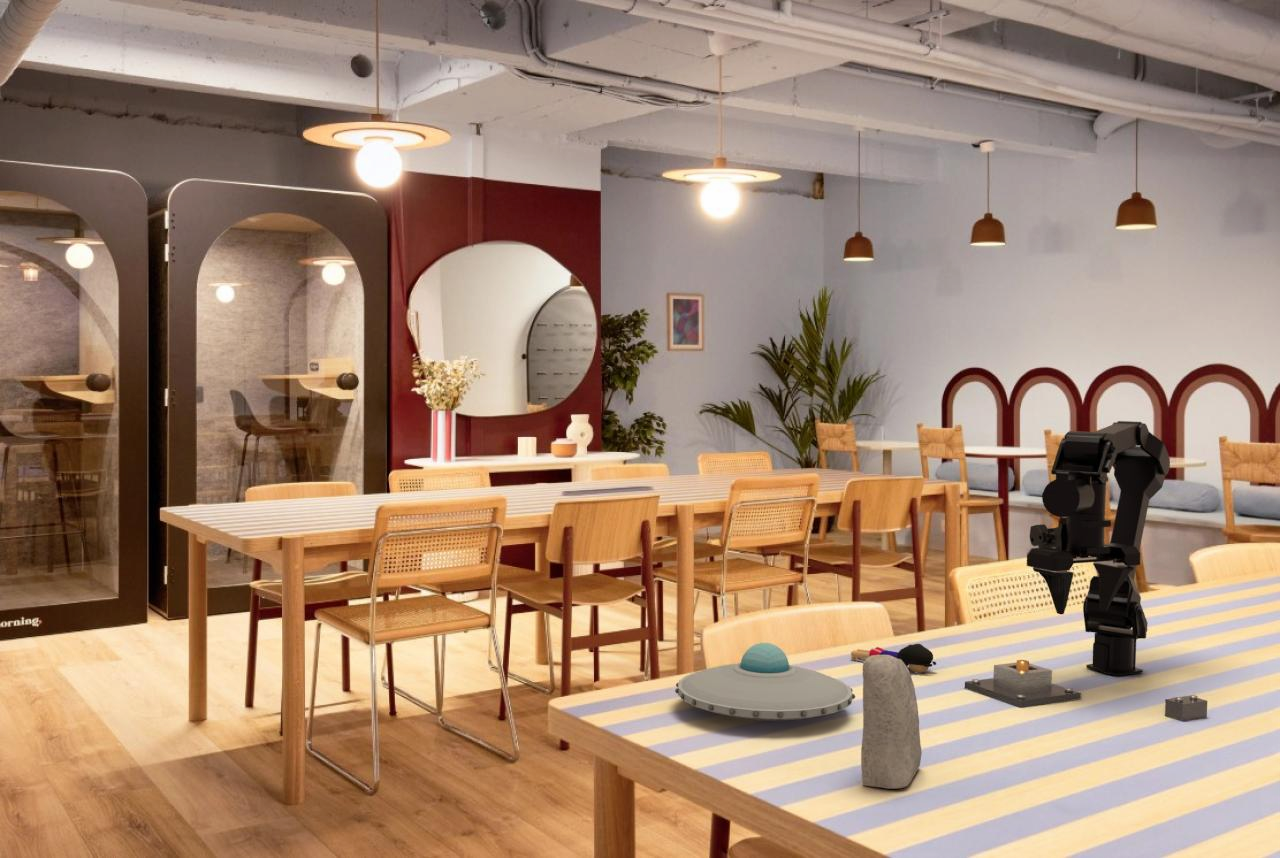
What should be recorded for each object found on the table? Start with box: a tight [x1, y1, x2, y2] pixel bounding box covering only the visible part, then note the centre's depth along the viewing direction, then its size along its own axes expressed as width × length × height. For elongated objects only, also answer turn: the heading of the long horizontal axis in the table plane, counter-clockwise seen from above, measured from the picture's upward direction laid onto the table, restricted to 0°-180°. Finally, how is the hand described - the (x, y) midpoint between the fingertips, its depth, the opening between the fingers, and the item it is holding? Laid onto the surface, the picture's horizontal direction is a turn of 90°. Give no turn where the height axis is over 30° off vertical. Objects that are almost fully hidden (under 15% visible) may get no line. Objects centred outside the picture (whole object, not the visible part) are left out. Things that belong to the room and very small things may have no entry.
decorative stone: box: [860, 655, 922, 790], centre depth 146 cm, size 11×6×15 cm, turn 150°
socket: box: [993, 661, 1053, 694], centre depth 186 cm, size 6×6×3 cm
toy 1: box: [674, 642, 856, 721], centre depth 173 cm, size 26×26×10 cm
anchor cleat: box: [1164, 694, 1208, 722], centre depth 174 cm, size 5×3×3 cm, turn 116°
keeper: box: [964, 659, 1082, 708], centre depth 186 cm, size 12×12×5 cm
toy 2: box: [850, 643, 937, 674], centre depth 202 cm, size 10×5×15 cm
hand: (1082, 611), depth 189 cm, fingers open, 9 cm apart
